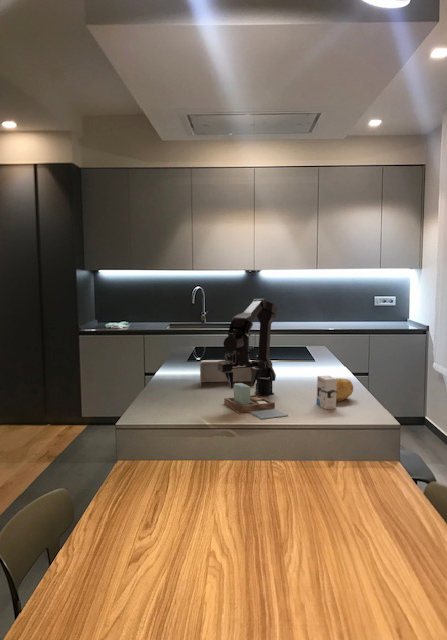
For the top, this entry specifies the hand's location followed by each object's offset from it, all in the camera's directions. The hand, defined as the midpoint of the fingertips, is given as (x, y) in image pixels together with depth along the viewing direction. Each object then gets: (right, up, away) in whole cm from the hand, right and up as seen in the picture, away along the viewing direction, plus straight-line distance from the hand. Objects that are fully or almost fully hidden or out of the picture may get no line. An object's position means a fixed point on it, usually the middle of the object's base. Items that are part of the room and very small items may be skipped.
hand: (242, 387), depth 202 cm
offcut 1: (+6, -7, +5) cm, 10 cm away
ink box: (+33, -8, +1) cm, 34 cm away
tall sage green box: (0, -8, +1) cm, 8 cm away
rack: (+3, -8, +2) cm, 9 cm away
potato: (+40, -7, +10) cm, 42 cm away
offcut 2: (+8, -8, 0) cm, 12 cm away
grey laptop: (-6, -5, +42) cm, 43 cm away
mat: (+9, -9, -10) cm, 16 cm away
